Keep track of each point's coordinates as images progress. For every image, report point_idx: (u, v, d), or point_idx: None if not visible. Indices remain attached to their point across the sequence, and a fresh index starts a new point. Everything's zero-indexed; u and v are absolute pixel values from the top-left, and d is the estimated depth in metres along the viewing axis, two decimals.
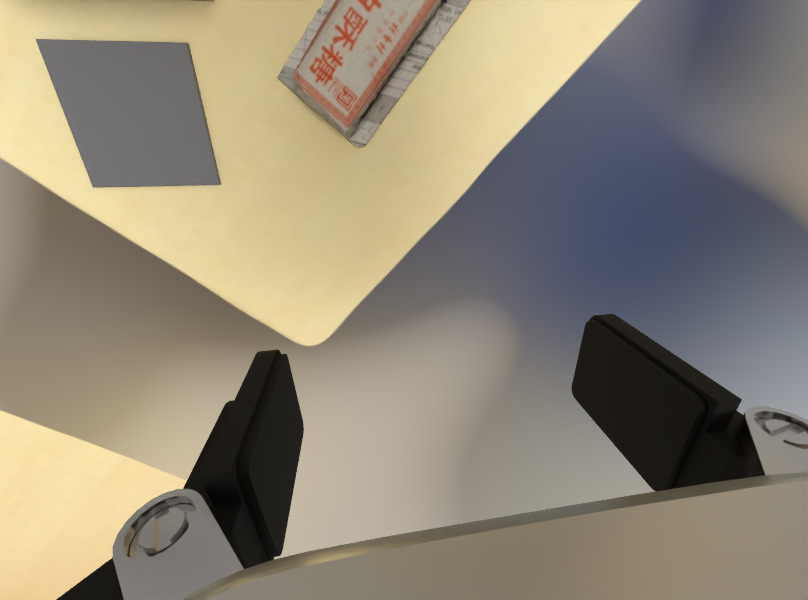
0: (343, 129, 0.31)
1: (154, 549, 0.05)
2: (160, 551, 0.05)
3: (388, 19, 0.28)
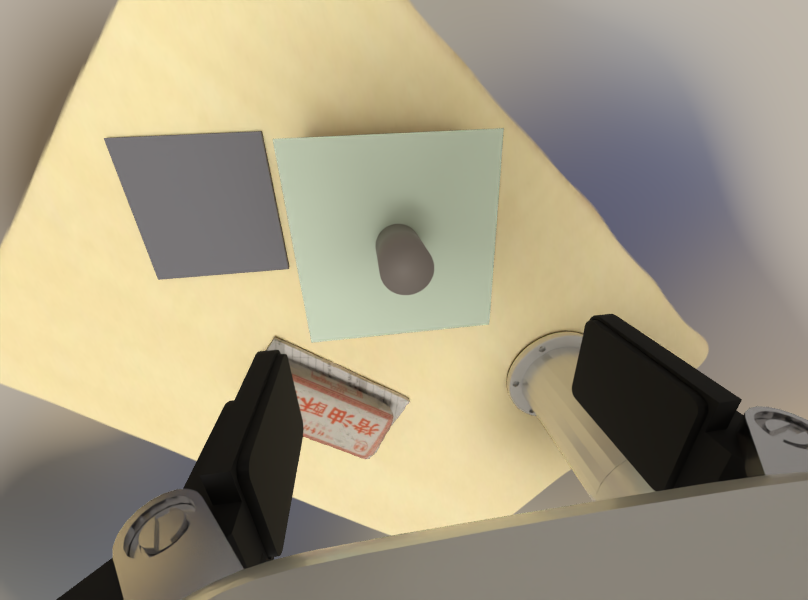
0: None
1: (154, 549, 0.05)
2: (160, 550, 0.05)
3: (325, 429, 0.37)
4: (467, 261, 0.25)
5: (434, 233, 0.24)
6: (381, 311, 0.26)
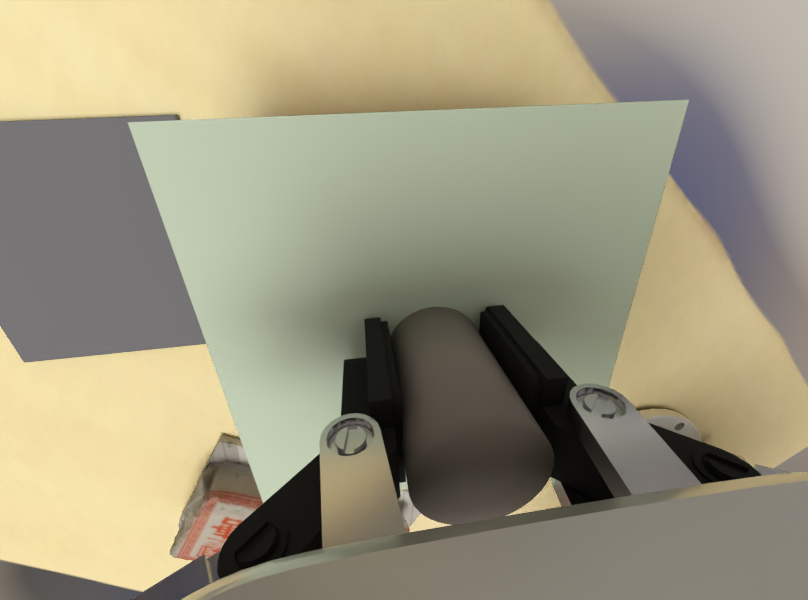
0: (172, 552, 0.23)
1: (343, 451, 0.06)
2: (346, 454, 0.07)
3: None
4: (565, 367, 0.13)
5: None
6: None
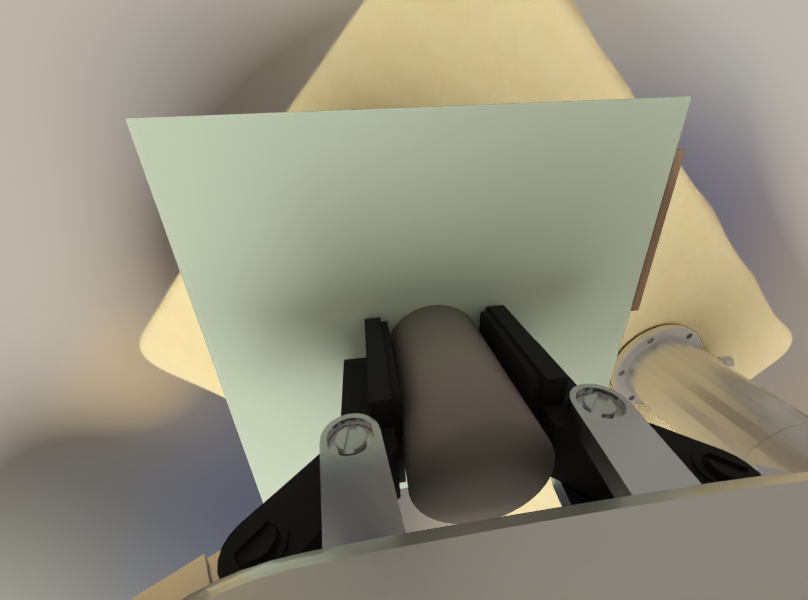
0: None
1: (343, 451, 0.06)
2: (345, 454, 0.07)
3: None
4: (566, 366, 0.13)
5: None
6: None
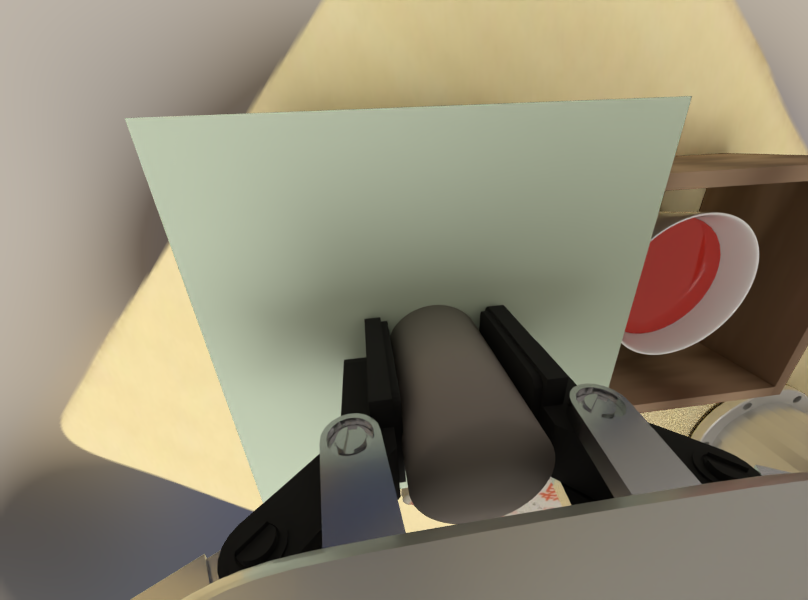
0: (406, 500, 0.28)
1: (343, 451, 0.06)
2: (345, 454, 0.07)
3: None
4: (566, 366, 0.13)
5: None
6: None
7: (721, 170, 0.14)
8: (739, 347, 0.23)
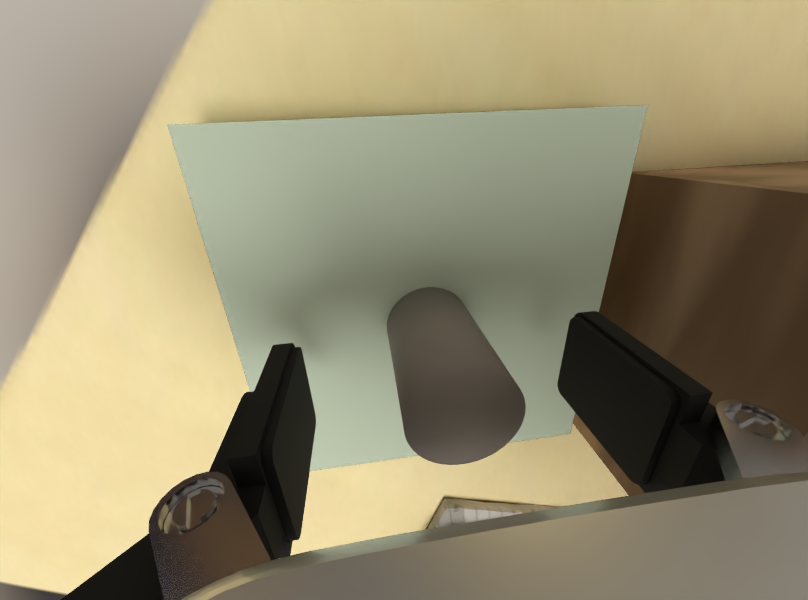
0: None
1: (186, 527, 0.05)
2: (191, 529, 0.05)
3: None
4: (547, 344, 0.14)
5: (494, 301, 0.13)
6: (395, 425, 0.15)
7: None
8: None
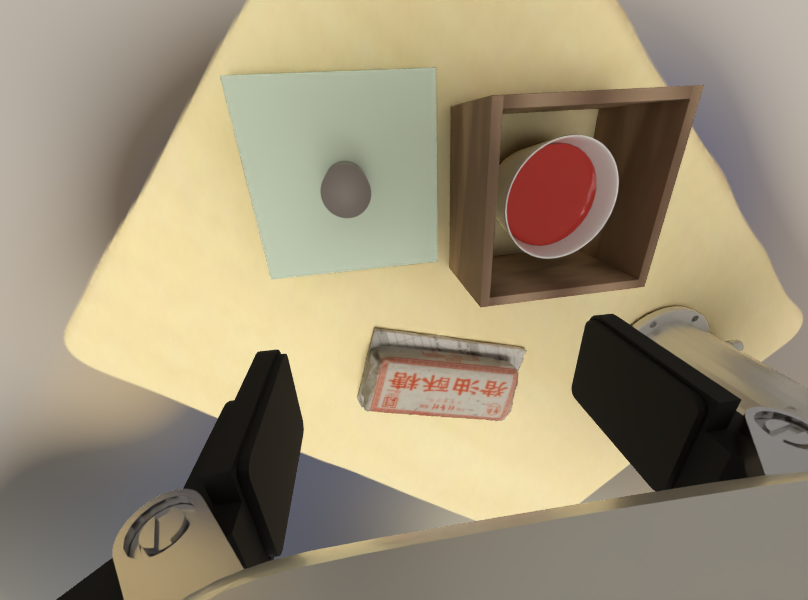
0: (366, 407, 0.34)
1: (154, 549, 0.05)
2: (160, 551, 0.05)
3: (454, 402, 0.35)
4: (412, 198, 0.27)
5: (379, 170, 0.26)
6: (335, 248, 0.28)
7: (560, 92, 0.20)
8: (618, 254, 0.28)
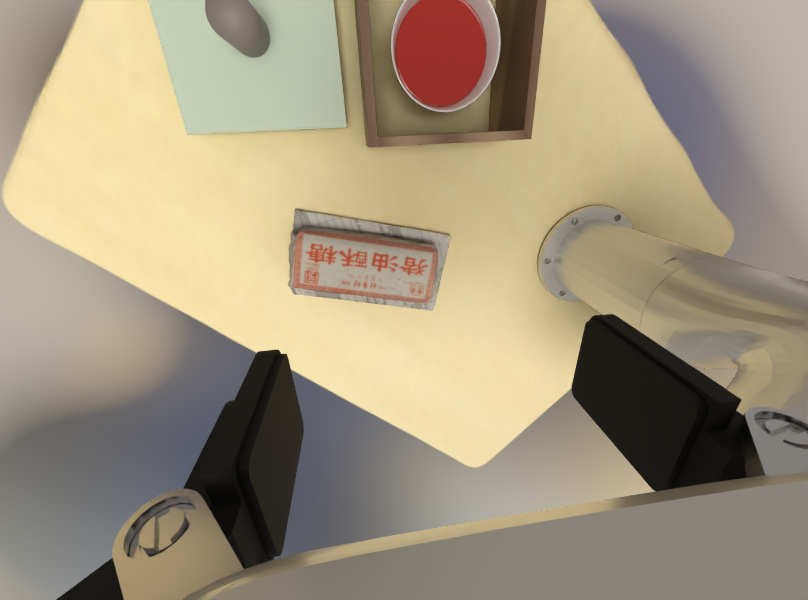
0: (290, 284, 0.36)
1: (154, 549, 0.05)
2: (160, 551, 0.05)
3: (376, 280, 0.37)
4: (315, 55, 0.29)
5: (280, 23, 0.28)
6: (245, 105, 0.30)
7: None
8: (512, 116, 0.30)
